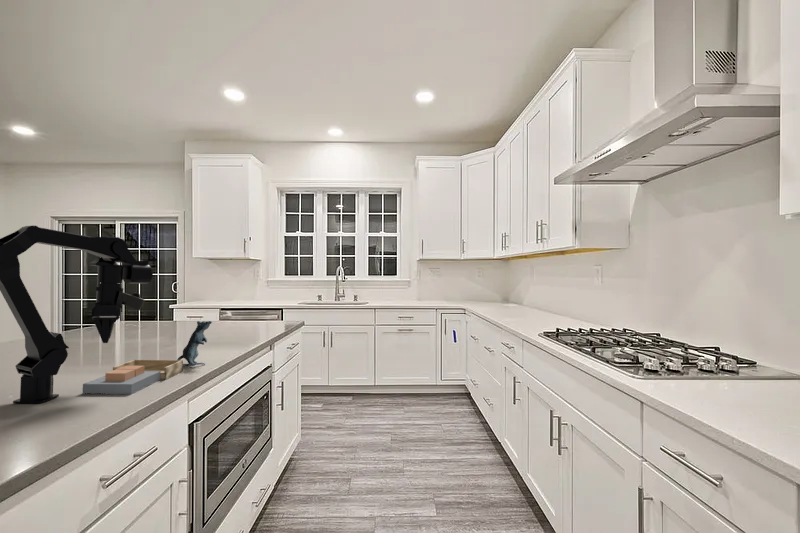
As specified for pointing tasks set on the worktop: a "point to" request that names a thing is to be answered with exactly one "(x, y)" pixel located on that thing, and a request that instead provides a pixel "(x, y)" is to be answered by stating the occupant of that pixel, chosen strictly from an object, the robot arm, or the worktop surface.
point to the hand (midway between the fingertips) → (106, 340)
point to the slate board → (121, 384)
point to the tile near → (119, 375)
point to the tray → (157, 366)
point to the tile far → (137, 369)
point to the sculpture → (195, 343)
